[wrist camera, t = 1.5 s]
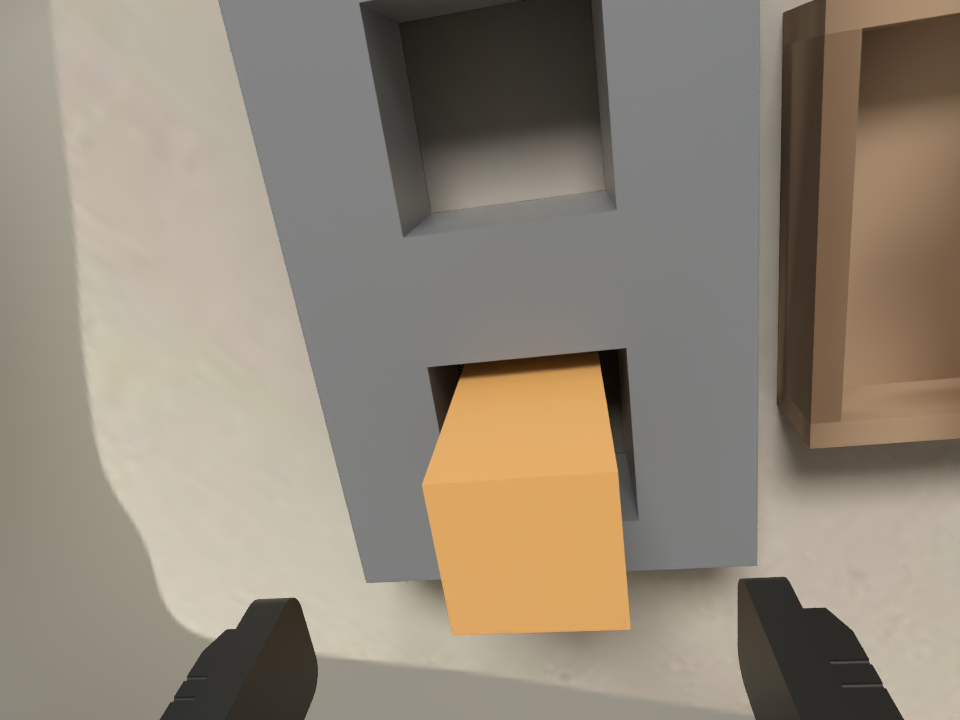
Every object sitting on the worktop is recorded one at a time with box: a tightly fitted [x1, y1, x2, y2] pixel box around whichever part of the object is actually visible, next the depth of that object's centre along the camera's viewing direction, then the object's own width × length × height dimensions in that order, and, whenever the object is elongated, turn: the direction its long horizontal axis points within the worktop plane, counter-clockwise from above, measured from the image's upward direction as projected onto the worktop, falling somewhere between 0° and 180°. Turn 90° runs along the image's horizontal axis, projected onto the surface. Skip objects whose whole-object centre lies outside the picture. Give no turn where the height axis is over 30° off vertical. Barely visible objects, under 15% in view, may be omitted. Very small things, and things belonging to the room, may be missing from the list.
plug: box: [422, 351, 631, 635], centre depth 18 cm, size 4×4×9 cm
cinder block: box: [218, 0, 760, 583], centre depth 19 cm, size 12×18×4 cm, turn 8°
